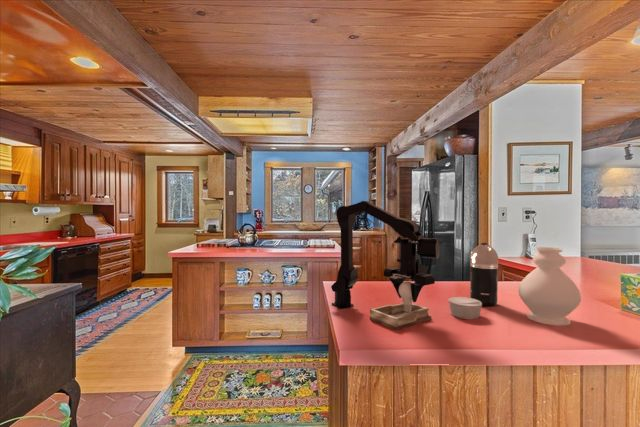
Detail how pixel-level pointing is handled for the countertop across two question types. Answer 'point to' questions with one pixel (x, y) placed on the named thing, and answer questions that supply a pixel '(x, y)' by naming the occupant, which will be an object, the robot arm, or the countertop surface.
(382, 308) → the wooden tray
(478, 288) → the black copper bottle
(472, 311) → the ramekin
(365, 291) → the countertop surface
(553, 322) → the decorative vase
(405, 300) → the lightbulb
